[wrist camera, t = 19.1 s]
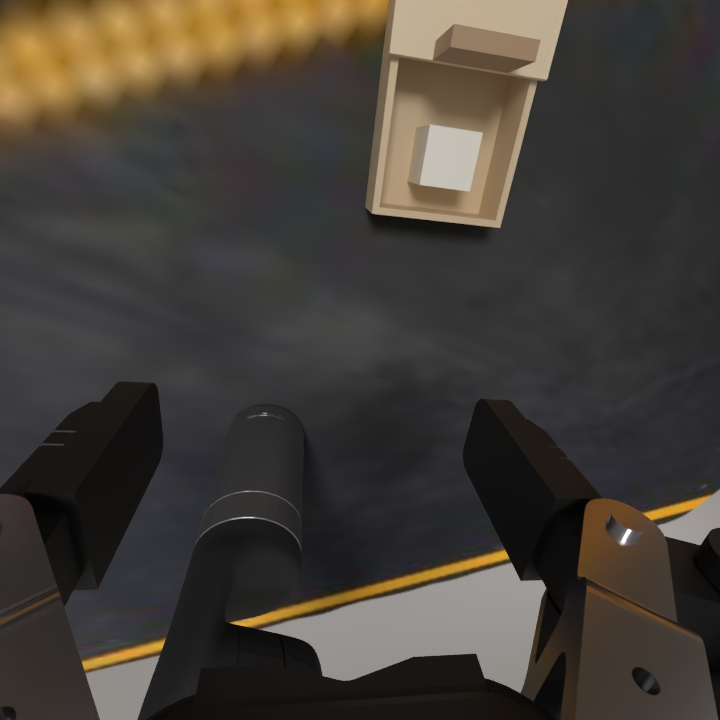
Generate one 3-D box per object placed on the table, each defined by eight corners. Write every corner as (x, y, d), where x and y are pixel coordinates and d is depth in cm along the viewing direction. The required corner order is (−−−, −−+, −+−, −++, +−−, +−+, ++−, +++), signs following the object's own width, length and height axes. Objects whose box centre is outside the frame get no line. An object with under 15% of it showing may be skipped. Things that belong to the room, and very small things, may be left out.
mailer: (480, 220, 42) (499, 228, 38) (365, 207, 40) (371, 213, 36) (532, -4, 34) (565, -27, 30) (392, -32, 33) (405, -61, 28)
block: (452, 187, 40) (469, 191, 36) (407, 181, 39) (419, 184, 35) (462, 135, 38) (483, 132, 34) (416, 127, 37) (430, 124, 33)
